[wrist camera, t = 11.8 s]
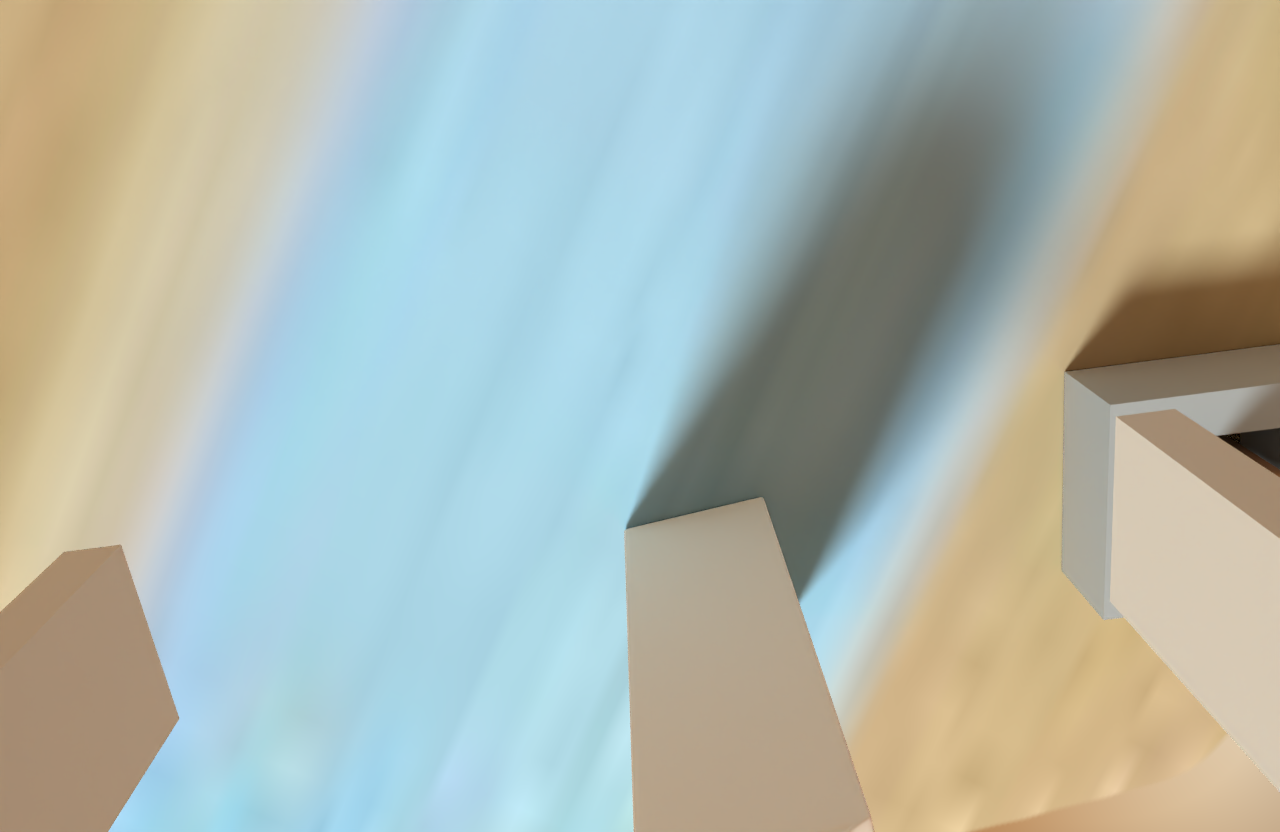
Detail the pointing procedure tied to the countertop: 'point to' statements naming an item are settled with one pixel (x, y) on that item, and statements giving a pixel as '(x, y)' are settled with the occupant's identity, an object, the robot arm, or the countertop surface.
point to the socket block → (1193, 385)
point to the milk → (728, 685)
